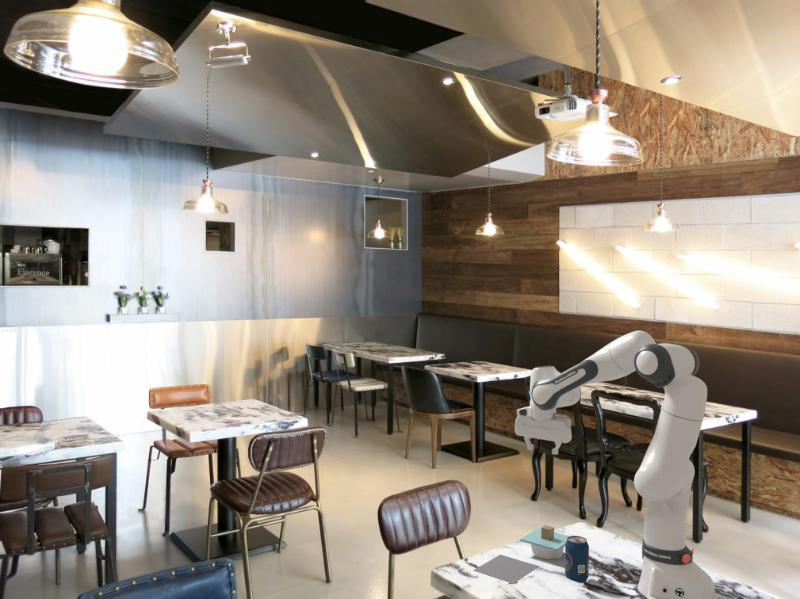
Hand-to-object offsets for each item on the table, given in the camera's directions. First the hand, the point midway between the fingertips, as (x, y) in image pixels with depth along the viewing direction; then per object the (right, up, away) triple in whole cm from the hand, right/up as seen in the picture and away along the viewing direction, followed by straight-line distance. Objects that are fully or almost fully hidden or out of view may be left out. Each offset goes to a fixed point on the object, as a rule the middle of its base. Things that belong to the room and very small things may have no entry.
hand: (542, 451), depth 224 cm
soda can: (+4, -32, -29) cm, 43 cm away
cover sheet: (-1, -26, -12) cm, 29 cm away
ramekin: (-1, -32, -12) cm, 34 cm away
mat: (-16, -31, -24) cm, 43 cm away
